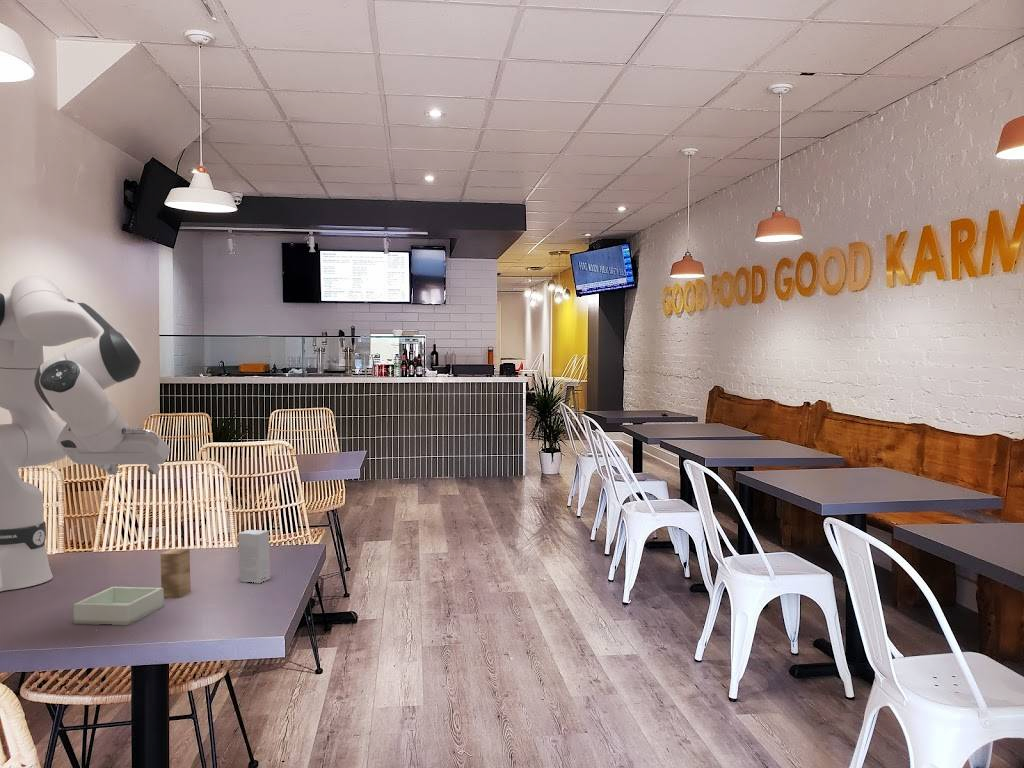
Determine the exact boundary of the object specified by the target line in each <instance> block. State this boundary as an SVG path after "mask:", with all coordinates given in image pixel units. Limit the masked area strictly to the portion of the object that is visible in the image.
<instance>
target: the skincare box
mask: <svg viewBox="0 0 1024 768" xmlns="http://www.w3.org/2000/svg"><path fill="white" fill-rule="evenodd" d="M269 532H270V531H269V530H263V529H262V530H260V529H247V530H244V531H240V532H238V533H237V539H238V542H237V543H238V569H239V570H238V571H239V572H238V573H239V574H238V575H239V578H238V579H239V582H240V583H247V582H252V583H251V584H261V582H262V583H264V582H266V581H269V580H270V579H271V562H270V558H271V557H270V536H269V535H270V534H269ZM268 579H269V580H268ZM263 581H264V582H263ZM253 582H254V583H253Z"/></svg>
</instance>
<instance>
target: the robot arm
mask: <svg viewBox="0 0 1024 768" xmlns="http://www.w3.org/2000/svg"><path fill="white" fill-rule="evenodd" d="M11 288H12V289H11V290H10V292H0V408H3V409H5V410H6V411H8V412H9V413H10V415H11V423H5V424H4V423H3V424H1V423H0V592H5V591H10V590H19V589H23V588H29V587H33V586H36V585H41V584H43V583H46V582H48V581H50V580H52V579H53V578H54V575H53V573H52V569H51V567H50V566H51V565H50V562H49V557H48V553H47V548H46V538H47V526H46V521H45V520H44V495H43V492H42V490H41V489H40V488H39V487H37V486H36V485H34V484H32V483H29V482H26V481H23V480H22V478H21V476H20V473H19V469H21V468H29V467H36V466H38V467H39V466H46V465H48V464H51V463H55V462H59V461H60V460H63V459H65V458H66V457H68V458H69V459H70V461H72V462H73V463H74V464H76V465H77V464H78V465H81V466H82V465H83V466H84V465H90V466H91V465H95V467H97V468H98V469H101V470H103V471H105V472H106V473H107V474H108V476H109V475H117V474H118V472H119V470H120V468H119V466H117V465H147V466H148V468H146V469H147V473H148V474H150V475H159V473H160V471H161V467H160V466H159V465H163V464H164V463H166V461H167V459H168V457H169V455H170V453H171V448H170V446H168V444H167V443H166V442H165V440H164V439H163V438H162V437H161V436H160V435H159V434H158V433H156V431H153V430H152V429H147V428H142V427H141V428H133V427H131V428H129V423H128V422H127V420H126V419H125V417H124V415H122V413H121V412H120V411H119V409H118V408H117V406H116V405H115V404H114V403H112V402H110V400H109V399H108V395H107V393H106V392H105V390H106V389H107V388H110V387H112V386H114V385H116V384H118V383H122V382H124V381H126V380H129V379H132V378H134V377H135V376H136V375H137V373H138V371H139V369H140V366H141V363H142V362H141V361H142V360H141V358H140V354H139V352H138V350H137V348H136V347H135V345H134V343H132V341H130V339H128V338H127V337H126V336H124V335H123V334H122V333H121V332H119V331H117V330H116V329H115V328H114V327H113V326H112V325H111V324H109V322H108V321H107V320H105V318H104V317H103V316H102V315H100V314H99V313H98V312H97V311H96V310H94V309H93V308H92V307H91V306H89V305H88V304H86V303H84V302H75V301H74V300H72V299H70V298H67V297H66V295H64V293H63V291H62V290H61V289H60V288H59V287H58V285H56V284H54V282H53V281H51V280H49V279H48V278H45V277H41V276H34V275H33V276H31V275H30V276H26V277H24V278H22V279H19V280H18V281H17V282H15V284H14V285H13V287H11ZM86 338H93V339H91V340H90V341H87V342H85V343H83V344H81V345H79V346H77V347H75V348H73V349H70V350H68V351H66V352H63V353H61V354H59V355H57V356H55V357H52V358H50V359H48V360H46V361H44V360H45V359H44V358H45V357H44V347H58V346H61V345H65V344H67V343H72V342H74V341H78V340H81V339H86ZM49 409H50V410H51V411H53V412H55V413H56V415H58V417H59V418H60V419H61V421H63V422H65V423H66V424H65V425H64V424H62V423H61V422H59V421H58V420H57V419H56V418H54V417H53V415H52V414H51V413H50V411H49Z"/></svg>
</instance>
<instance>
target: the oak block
mask: <svg viewBox="0 0 1024 768" xmlns="http://www.w3.org/2000/svg"><path fill="white" fill-rule="evenodd" d="M190 551H191V550H190V548H189V549H188V548H171V549H167V550H166V551H163V552H161V553H160V582H161V584H160V585H161V587H160V588H163V597H164V598H165V597H166V599H167V598H168V597H170V599H171V597H173V598H172V599H174V598H175V599H181V598H183V597H185V596H186V595H188V594H189V592H190V593H191V591H192V590H191V587H192V586H191V555H190ZM187 593H188V594H187ZM176 597H177V598H176ZM180 597H181V598H180ZM168 599H169V598H168Z"/></svg>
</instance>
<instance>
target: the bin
mask: <svg viewBox="0 0 1024 768" xmlns="http://www.w3.org/2000/svg"><path fill="white" fill-rule="evenodd" d="M164 602H165V601H164V597H163V588H161V587H143V586H140V587H139V586H135V587H134V586H110V587H109V588H107V589H104V590H102V591H100V592H97V593H94V594H93V595H91V596H88V597H86V598H84V599H82V600H80V601H78V602H75V603H73V624H76V625H99V624H112V625H111V626H130V625H132V624H134V623H136V622H138V621H140V620H141V619H143V618H145V617H147V616H148V615H150V614H152V613H154V612H156V611H157V610H159V609H161V608H163V607H165V605H164V604H165V603H164Z"/></svg>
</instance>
